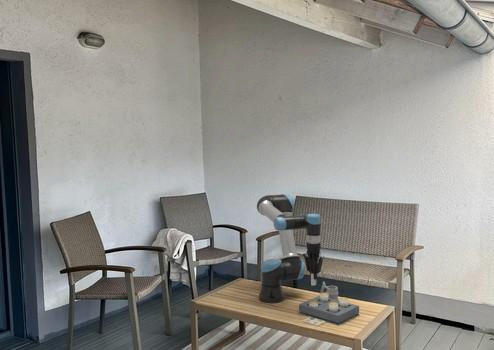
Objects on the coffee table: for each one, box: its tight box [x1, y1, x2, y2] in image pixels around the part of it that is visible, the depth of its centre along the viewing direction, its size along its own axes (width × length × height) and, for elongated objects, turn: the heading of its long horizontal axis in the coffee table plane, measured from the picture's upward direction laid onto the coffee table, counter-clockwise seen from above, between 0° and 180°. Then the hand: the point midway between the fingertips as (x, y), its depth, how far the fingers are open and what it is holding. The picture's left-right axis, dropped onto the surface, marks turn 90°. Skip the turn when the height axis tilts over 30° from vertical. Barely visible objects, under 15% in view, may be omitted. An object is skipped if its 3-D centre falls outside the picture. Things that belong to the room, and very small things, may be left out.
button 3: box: [329, 302, 338, 313], centre depth 257 cm, size 5×5×5 cm
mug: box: [319, 281, 339, 300], centre depth 283 cm, size 8×12×12 cm, turn 48°
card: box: [301, 316, 327, 327], centre depth 254 cm, size 10×7×1 cm
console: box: [298, 295, 360, 326], centre depth 265 cm, size 26×20×5 cm
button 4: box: [338, 297, 349, 308], centre depth 264 cm, size 5×5×5 cm
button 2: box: [319, 292, 328, 303], centre depth 273 cm, size 5×5×5 cm
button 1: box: [309, 302, 318, 307], centre depth 266 cm, size 5×5×5 cm
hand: (313, 284), depth 265 cm, fingers closed
